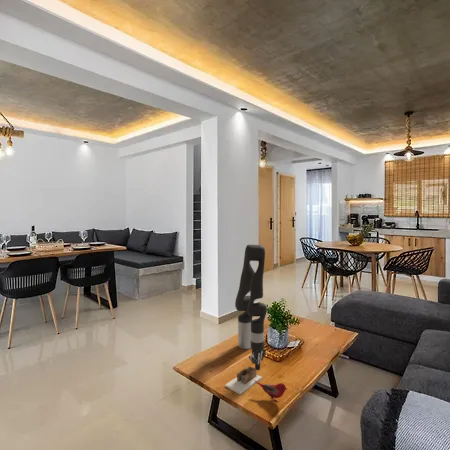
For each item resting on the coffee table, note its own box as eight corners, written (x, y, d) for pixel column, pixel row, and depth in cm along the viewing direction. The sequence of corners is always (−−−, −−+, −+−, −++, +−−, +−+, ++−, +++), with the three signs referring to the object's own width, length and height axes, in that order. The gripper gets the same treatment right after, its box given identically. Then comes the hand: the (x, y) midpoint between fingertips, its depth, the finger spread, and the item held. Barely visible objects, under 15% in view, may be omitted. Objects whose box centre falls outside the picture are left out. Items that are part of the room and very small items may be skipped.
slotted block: (244, 384, 158) (244, 377, 157) (237, 380, 161) (236, 373, 161) (256, 376, 165) (256, 369, 165) (248, 372, 168) (248, 365, 168)
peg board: (247, 371, 171) (247, 364, 171) (261, 378, 164) (261, 371, 164) (225, 386, 158) (225, 379, 158) (240, 394, 151) (240, 386, 151)
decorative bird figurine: (285, 407, 141) (285, 386, 140) (252, 393, 152) (252, 374, 151) (288, 404, 143) (288, 383, 143) (255, 390, 154) (255, 371, 153)
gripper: (255, 345, 161) (255, 377, 162) (270, 337, 171) (270, 367, 172) (244, 341, 166) (244, 372, 167) (259, 333, 176) (259, 362, 177)
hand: (257, 369), depth 170 cm, fingers closed
